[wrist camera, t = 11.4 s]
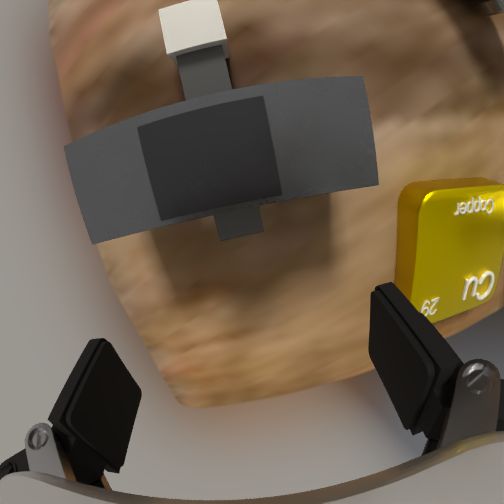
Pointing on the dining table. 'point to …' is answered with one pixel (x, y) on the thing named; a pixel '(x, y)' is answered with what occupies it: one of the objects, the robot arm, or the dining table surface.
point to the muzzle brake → (489, 6)
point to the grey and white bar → (205, 79)
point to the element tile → (449, 244)
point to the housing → (224, 155)
